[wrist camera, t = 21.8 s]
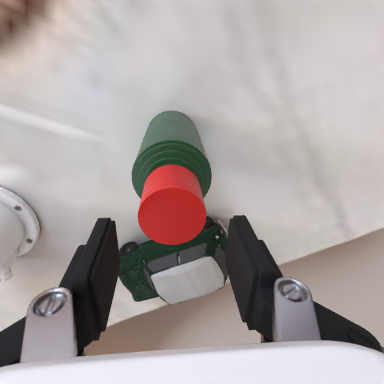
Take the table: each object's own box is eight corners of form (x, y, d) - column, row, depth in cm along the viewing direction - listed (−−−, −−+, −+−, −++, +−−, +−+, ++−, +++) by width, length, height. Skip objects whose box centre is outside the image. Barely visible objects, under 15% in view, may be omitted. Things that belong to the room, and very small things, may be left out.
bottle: (195, 160, 33) (218, 250, 17) (148, 160, 32) (124, 252, 16) (198, 111, 30) (228, 164, 14) (145, 110, 29) (114, 163, 13)
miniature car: (112, 247, 38) (98, 288, 31) (219, 209, 37) (231, 244, 30) (137, 284, 43) (130, 327, 35) (235, 251, 41) (248, 290, 34)
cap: (142, 162, 17) (135, 186, 13) (202, 164, 17) (209, 187, 14) (145, 214, 18) (139, 245, 15) (198, 214, 19) (203, 244, 16)
